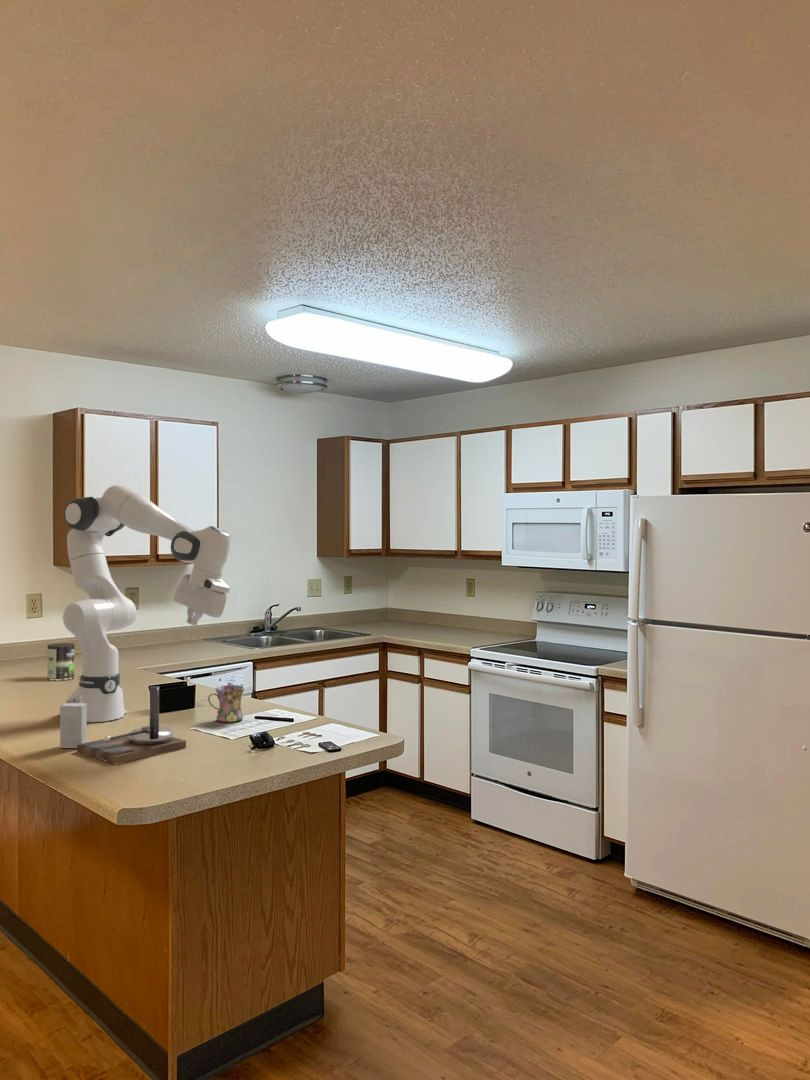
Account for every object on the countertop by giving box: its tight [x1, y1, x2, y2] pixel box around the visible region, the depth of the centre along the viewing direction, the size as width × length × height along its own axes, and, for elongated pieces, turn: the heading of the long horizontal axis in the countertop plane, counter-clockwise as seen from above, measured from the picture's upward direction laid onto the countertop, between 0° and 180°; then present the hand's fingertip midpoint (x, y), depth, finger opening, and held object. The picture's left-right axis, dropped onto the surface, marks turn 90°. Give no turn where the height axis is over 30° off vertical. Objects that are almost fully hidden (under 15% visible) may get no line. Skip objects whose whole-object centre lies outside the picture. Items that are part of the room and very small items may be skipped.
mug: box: [207, 684, 246, 723], centre depth 259 cm, size 12×9×11 cm
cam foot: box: [103, 685, 174, 744], centre depth 223 cm, size 14×20×16 cm
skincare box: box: [59, 702, 88, 749], centre depth 226 cm, size 6×4×12 cm
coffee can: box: [47, 642, 76, 679], centre depth 330 cm, size 10×10×14 cm
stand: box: [76, 736, 187, 765], centre depth 224 cm, size 19×22×2 cm
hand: (191, 624), depth 243 cm, fingers closed
